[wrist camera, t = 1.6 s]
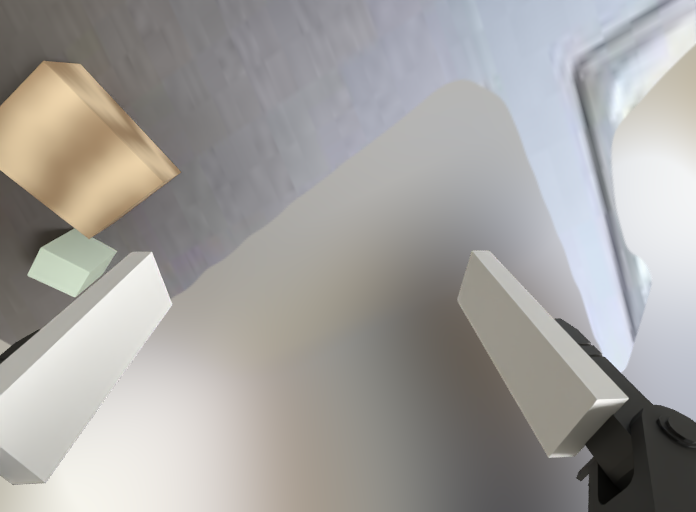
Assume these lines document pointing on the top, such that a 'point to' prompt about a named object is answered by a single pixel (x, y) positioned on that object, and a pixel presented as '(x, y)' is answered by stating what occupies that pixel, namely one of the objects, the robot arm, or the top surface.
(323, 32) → the top surface
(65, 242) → the sage cube
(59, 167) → the oak block
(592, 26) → the top surface
